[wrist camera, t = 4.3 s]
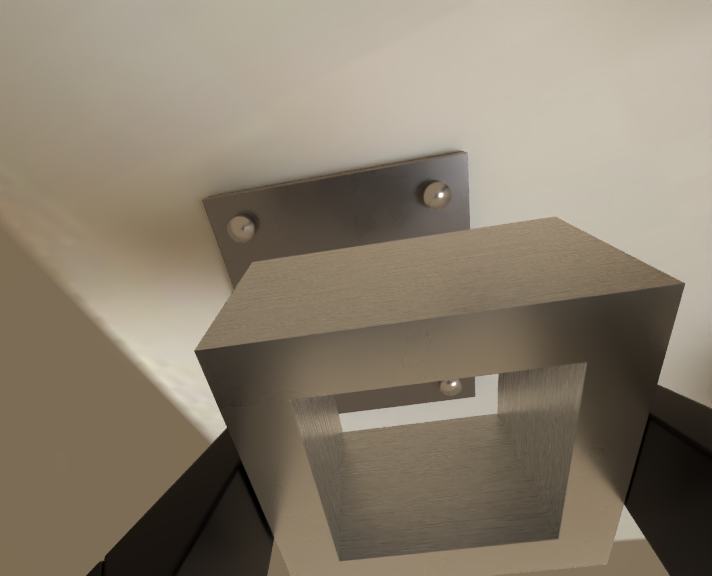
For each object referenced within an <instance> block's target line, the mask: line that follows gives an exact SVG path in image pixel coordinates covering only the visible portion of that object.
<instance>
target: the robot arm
mask: <svg viewBox="0 0 712 576" xmlns="http://www.w3.org/2000/svg"><path fill="white" fill-rule="evenodd" d="M624 505H625V506H626V508H627V510H628V511H629V513H630V514H631V516H632V517H633V519H634V521H635V522H636V524H637V525H638V527H639V528H640V530H641V531H642V533H643V535H644V536H645V538H646V539H647V541H648V542H649V544H650V545H651V547H652V549H653V550H654V551H655V553H656V555H657V556H658V558H659V559H660V561H661V562H662V564H663V565H664V567H665V569H666V570H667V572H668V573H669V575H670V576H712V408H709V407H707V406H705V405H703V404H700V403H698V402H696V401H694V400H691V399H689V398H687V397H685V396H682V395H680V394H678V393H676V392H673V391H671V390H669V389H667V388H664V387H662V386H660V385H658V384H657V387H656V390H655V394H654V397H653V401H652V405H651V408H650V412H649V415H648V419H647V423H646V426H645V430H644V433H643V437H642V441H641V444H640V448H639V451H638V455H637V458H636V462H635V466H634V469H633V473H632V476H631V480H630V484H629V487H628V491H627V494H626V498H625V502H624ZM273 541H274V535H273V533H272V531H271V528H270V526H269V524H268V521H267V519H266V517H265V514H264V512H263V510H262V507H261V505H260V503H259V500H258V498H257V496H256V494H255V491H254V489H253V487H252V484H251V482H250V480H249V477H248V475H247V473H246V470H245V468H244V466H243V463H242V461H241V459H240V456H239V454H238V452H237V449H236V447H235V445H234V442H233V440H232V438H231V435H230V433H229V431H228V428H226V429H225V430H224V431H223V432H222V433H221V434H220V436H219V437H218V438H217V439H216V440H215V441H214V442H213V443H212V444H211V445H210V446H209V447H208V448H207V449H206V450H205V451H204V452H203V453H202V454H201V456H200V457H199V458H198V459H197V460H196V461H195V462H194V463H193V464H192V465H191V466H190V467H189V468H188V469H187V470H186V471H185V473H183V474H182V476H181V477H180V478H179V479H178V480H177V481H176V482H175V483H174V484H173V485H172V486H171V487H170V488H169V489H168V490H167V491H166V493H164V495H163V496H162V497H161V498H160V499H159V500H158V501H157V502H156V503H155V504H154V505H153V506H152V507H151V508H150V509H149V510H148V511H147V513H145V514H144V516H143V517H142V518H141V519H140V520H139V521H138V522H137V523H136V524H135V525H134V526H133V527H132V528H131V529H130V530H129V531H128V532H127V533H126V535H125V536H124V537H123V538H122V539H121V540H120V541H119V542H118V543H117V544H116V545H115V546H114V547H113V548H112V549H111V550H110V551H109V553H107V555H106V556H105V559H104V561H100V562H99V563H98V564H97V565H96V566H95V567H94V568H93V569H92V570H91V571H90V572H89V573H88V574H87V575H86V576H267V574H268V569H269V563H270V558H271V552H272V546H273Z"/></svg>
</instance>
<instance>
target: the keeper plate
mask: <svg viewBox="0 0 712 576" xmlns="http://www.w3.org/2000/svg"><path fill="white" fill-rule="evenodd" d="M202 201H203V204H204V206H205V209H206V212H207V215H208V217H209V220H210V223H211V226H212V228H213V231H214V234H215V237H216V240H217V242H218V245H219V248H220V251H221V253H222V256H223V259H224V262H225V264H226V267H227V270H228V273H229V276H230V278H231V281H232V284H233V287H234V289H235V288H236V286H237V285H238V283H239V282H240V280H241V279H242V277H243V276H244V274H245V273H246V271H247V269H248V268H249V266H250V265H251V263H252V262H256V261H263V260H270V259H276V258H283V257H290V256H296V255H303V254H310V253H316V252H323V251H330V250H336V249H343V248H350V247H356V246H363V245H370V244H376V243H383V242H390V241H396V240H403V239H410V238H416V237H423V236H430V235H437V234H443V233H450V232H457V231H463V230H470V214H469V181H468V153H466V152H464V151H461V152H455V153H450V154H444V155H438V156H433V157H427V158H422V159H416V160H410V161H405V162H399V163H393V164H388V165H382V166H377V167H371V168H365V169H360V170H354V171H349V172H343V173H337V174H332V175H326V176H320V177H315V178H309V179H304V180H298V181H292V182H287V183H281V184H276V185H270V186H264V187H259V188H253V189H247V190H242V191H236V192H231V193H225V194H219V195H214V196H209V197H207V198H205V199H204V200H202ZM468 397H475V377H467V378H459V379H451V380H443V381H436V382H428V383H420V384H412V385H404V386H396V387H389V388H381V389H373V390H365V391H357V392H349V393H341V394H334V398H335V402H336V406H337V410H338V414H340V413H348V412H356V411H364V410H372V409H380V408H388V407H396V406H404V405H412V404H420V403H428V402H436V401H444V400H452V399H460V398H468Z"/></svg>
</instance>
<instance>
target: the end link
mask: <svg viewBox="0 0 712 576" xmlns="http://www.w3.org/2000/svg"><path fill="white" fill-rule="evenodd" d="M684 286H685V283H683V282H681V281H679V280H677V279H675V278H674V277H672V276H670V275H668V274H666V273H664V272H662V271H660V270H658V269H656V268H654V267H652V266H650V265H648V264H646V263H644V262H642V261H640V260H638V259H637V258H635V257H633V256H631V255H629V254H627V253H625V252H623V251H621V250H619V249H617V248H615V247H613V246H611V245H609V244H607V243H605V242H603V241H601V240H600V239H598V238H596V237H594V236H592V235H590V234H588V233H586V232H584V231H582V230H580V229H578V228H576V227H574V226H572V225H570V224H568V223H566V222H565V221H563V220H561V219H559V218H557V217H550V218H543V219H537V220H530V221H523V222H517V223H510V224H503V225H497V226H490V227H483V228H477V229H470V230H463V231H457V232H450V233H443V234H437V235H430V236H423V237H416V238H410V239H403V240H396V241H390V242H383V243H376V244H370V245H363V246H356V247H350V248H343V249H336V250H330V251H323V252H316V253H310V254H303V255H296V256H290V257H283V258H276V259H270V260H263V261H256V262H252V263H251V265H250V266H249V268H248V269H247V271H246V273H245V274H244V276H243V277H242V279H241V280H240V282H239V283H238V285H237V286H236V288H235V289H234V291H233V292H232V294H231V295H230V297H229V298H228V300H227V302H226V303H225V305H224V306H223V308H222V309H221V311H220V312H219V314H218V315H217V317H216V318H215V320H214V321H213V323H212V324H211V326H210V327H209V329H208V331H207V332H206V334H205V335H204V337H203V338H202V340H201V341H200V343H199V344H198V346H197V347H196V349H195V350H194V351H195V354H196V356H197V358H198V361H199V363H200V365H201V368H202V370H203V372H204V375H205V377H206V379H207V382H208V384H209V386H210V389H211V391H212V393H213V396H214V398H215V400H216V403H217V405H218V407H219V410H220V412H221V414H222V417H223V419H224V421H225V424H226V426H227V428H228V431H229V433H230V435H231V438H232V440H233V442H234V445H235V447H236V449H237V452H238V454H239V456H240V459H241V461H242V463H243V466H244V468H245V470H246V473H247V475H248V477H249V480H250V482H251V484H252V487H253V489H254V491H255V494H256V496H257V498H258V500H259V503H260V505H261V507H262V510H263V512H264V514H265V517H266V519H267V521H268V524H269V526H270V528H271V531H272V533H273V535H274V538H275V540H276V542H277V545H278V547H279V549H280V552H281V554H282V556H283V559H284V561H285V563H286V566H287V568H288V570H289V573H290V575H291V576H492V575H502V574H513V573H523V572H533V571H543V570H554V569H564V568H574V567H584V566H594V565H605V564H607V563H608V559H609V556H610V552H611V548H612V545H613V541H614V538H615V534H616V530H617V527H618V523H619V520H620V516H621V512H622V509H623V505H624V502H625V498H626V494H627V491H628V487H629V484H630V480H631V476H632V473H633V469H634V466H635V462H636V458H637V455H638V451H639V448H640V444H641V441H642V437H643V433H644V430H645V426H646V423H647V419H648V415H649V412H650V408H651V405H652V401H653V397H654V394H655V390H656V387H657V383H658V379H659V376H660V372H661V369H662V365H663V361H664V358H665V354H666V351H667V347H668V343H669V340H670V336H671V333H672V329H673V325H674V322H675V318H676V315H677V311H678V307H679V304H680V300H681V297H682V293H683V289H684ZM498 373H499V378H498V414H490V415H482V416H474V417H466V418H457V419H449V420H441V421H433V422H425V423H416V424H408V425H400V426H392V427H383V428H375V429H367V430H359V431H350V432H342V427H341V423H340V419H339V415H338V410H337V406H336V402H335V398H334V394H341V393H349V392H357V391H365V390H373V389H381V388H389V387H396V386H404V385H412V384H420V383H428V382H436V381H443V380H451V379H459V378H467V377H475V376H483V375H491V374H498Z"/></svg>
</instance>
